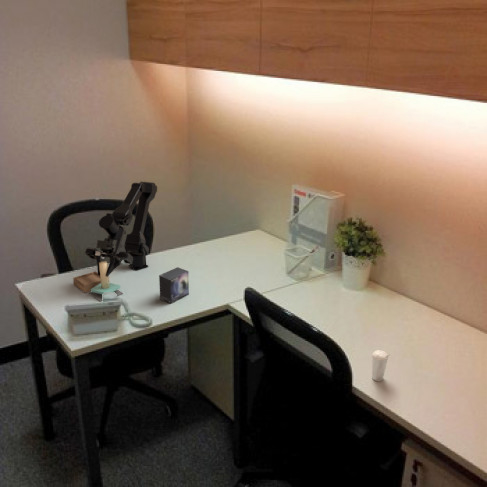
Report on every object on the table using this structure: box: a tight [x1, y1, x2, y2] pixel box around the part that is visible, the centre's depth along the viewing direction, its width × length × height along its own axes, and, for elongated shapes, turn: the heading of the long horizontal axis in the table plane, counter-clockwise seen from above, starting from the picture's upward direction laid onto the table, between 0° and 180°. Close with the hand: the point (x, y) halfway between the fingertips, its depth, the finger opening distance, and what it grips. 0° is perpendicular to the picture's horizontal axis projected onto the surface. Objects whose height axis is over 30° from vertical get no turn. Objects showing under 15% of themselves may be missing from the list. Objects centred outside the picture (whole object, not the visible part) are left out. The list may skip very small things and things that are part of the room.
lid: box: [91, 260, 121, 294], centre depth 213 cm, size 8×8×12 cm
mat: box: [88, 289, 124, 302], centre depth 215 cm, size 10×9×1 cm
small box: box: [158, 266, 190, 305], centre depth 212 cm, size 11×6×10 cm, turn 143°
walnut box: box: [72, 270, 101, 294], centre depth 222 cm, size 10×10×3 cm
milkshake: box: [371, 349, 390, 382], centre depth 162 cm, size 4×5×10 cm
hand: (102, 275), depth 211 cm, fingers closed on lid, 3 cm apart
